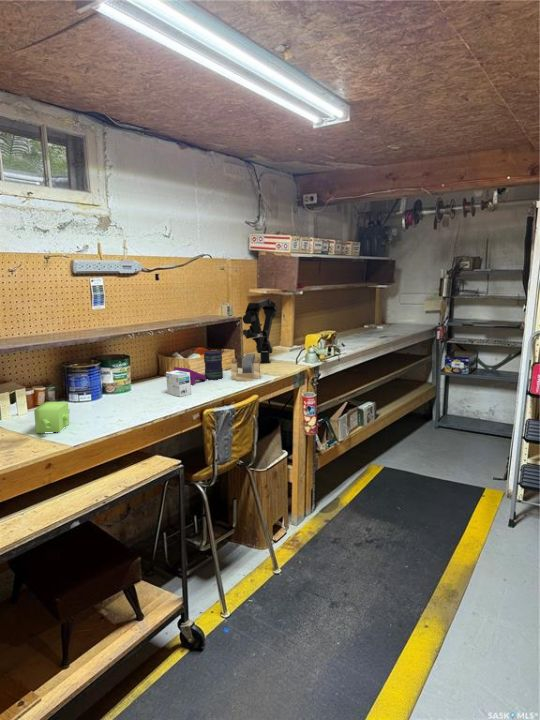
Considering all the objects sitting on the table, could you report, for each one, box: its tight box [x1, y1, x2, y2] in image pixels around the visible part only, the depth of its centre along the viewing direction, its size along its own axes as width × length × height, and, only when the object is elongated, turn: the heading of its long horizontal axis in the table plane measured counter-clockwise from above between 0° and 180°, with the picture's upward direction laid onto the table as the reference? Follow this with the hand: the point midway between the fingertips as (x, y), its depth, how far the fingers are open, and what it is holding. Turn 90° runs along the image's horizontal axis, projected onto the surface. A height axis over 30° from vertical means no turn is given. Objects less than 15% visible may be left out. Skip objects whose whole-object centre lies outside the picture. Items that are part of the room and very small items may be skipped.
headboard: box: [230, 357, 261, 382], centre depth 248 cm, size 6×15×12 cm, turn 86°
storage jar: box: [203, 349, 224, 381], centre depth 254 cm, size 10×10×15 cm
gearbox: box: [33, 401, 71, 434], centre depth 174 cm, size 18×10×10 cm, turn 4°
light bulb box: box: [165, 370, 192, 397], centre depth 222 cm, size 11×7×11 cm, turn 47°
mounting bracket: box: [172, 366, 207, 386], centre depth 245 cm, size 9×8×18 cm
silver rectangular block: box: [241, 353, 256, 373], centre depth 264 cm, size 20×5×10 cm, turn 176°
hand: (260, 348), depth 282 cm, fingers closed
